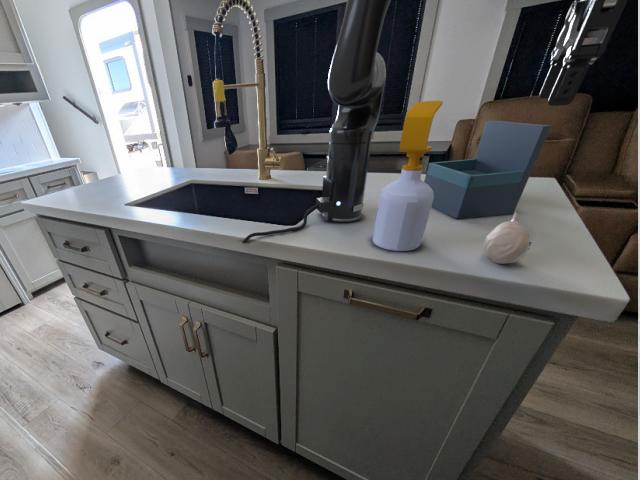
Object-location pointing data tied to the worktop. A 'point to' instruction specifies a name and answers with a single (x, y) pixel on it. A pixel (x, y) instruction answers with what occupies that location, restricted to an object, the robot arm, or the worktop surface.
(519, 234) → the garlic bulb
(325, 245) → the worktop surface
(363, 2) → the robot arm
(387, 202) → the soap bottle
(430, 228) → the worktop surface
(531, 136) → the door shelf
